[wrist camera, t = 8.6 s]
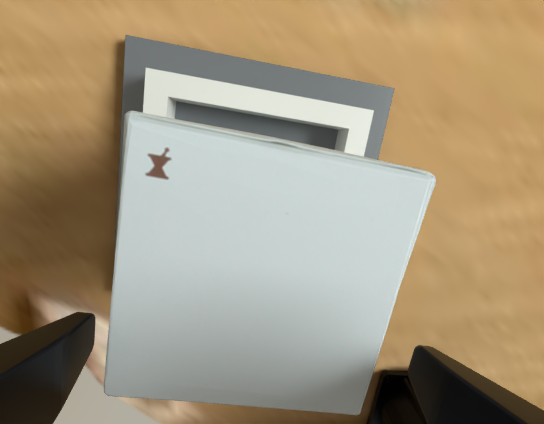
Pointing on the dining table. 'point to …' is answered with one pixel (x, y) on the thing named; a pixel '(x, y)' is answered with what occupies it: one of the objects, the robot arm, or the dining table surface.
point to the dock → (252, 98)
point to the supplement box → (254, 267)
